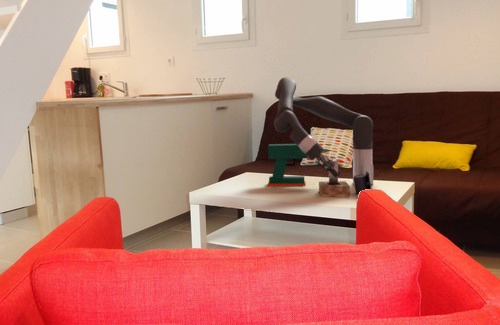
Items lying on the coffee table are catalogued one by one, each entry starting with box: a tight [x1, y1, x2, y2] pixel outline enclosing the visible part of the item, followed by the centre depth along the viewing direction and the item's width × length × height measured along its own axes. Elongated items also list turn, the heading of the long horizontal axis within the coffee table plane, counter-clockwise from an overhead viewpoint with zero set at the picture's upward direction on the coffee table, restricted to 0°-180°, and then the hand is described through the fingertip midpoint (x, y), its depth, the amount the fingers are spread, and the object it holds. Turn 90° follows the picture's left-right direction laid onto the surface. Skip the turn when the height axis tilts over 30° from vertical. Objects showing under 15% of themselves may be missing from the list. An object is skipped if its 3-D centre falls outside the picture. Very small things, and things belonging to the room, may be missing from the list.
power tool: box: [267, 143, 333, 187], centre depth 228 cm, size 32×7×20 cm, turn 84°
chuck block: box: [318, 180, 351, 198], centre depth 205 cm, size 12×12×4 cm
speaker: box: [352, 171, 372, 196], centre depth 202 cm, size 8×6×10 cm
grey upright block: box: [328, 158, 339, 185], centre depth 204 cm, size 7×4×13 cm, turn 162°
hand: (338, 175), depth 204 cm, fingers closed on grey upright block, 4 cm apart
